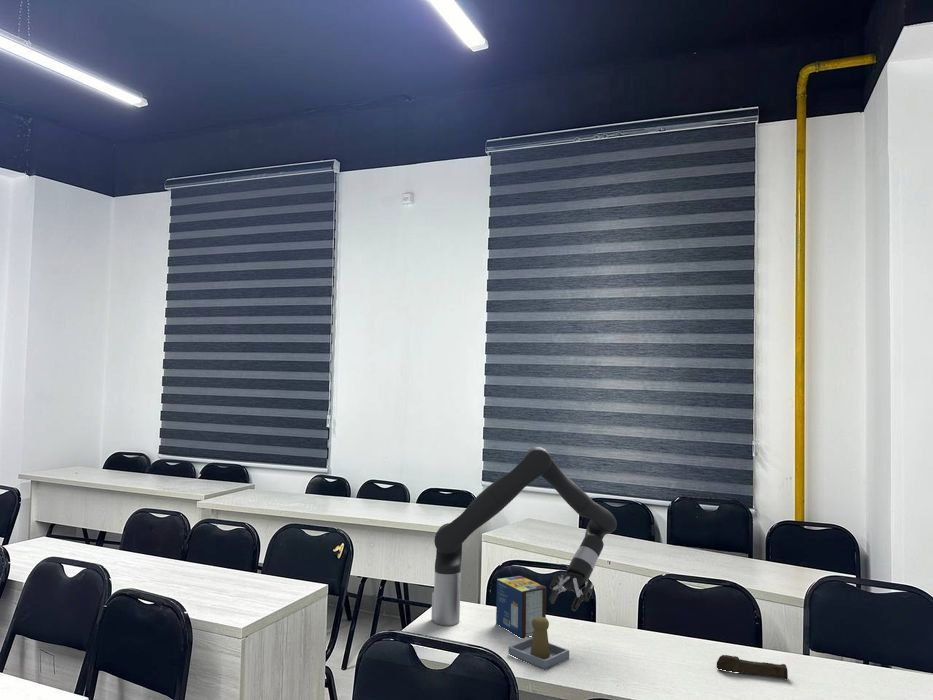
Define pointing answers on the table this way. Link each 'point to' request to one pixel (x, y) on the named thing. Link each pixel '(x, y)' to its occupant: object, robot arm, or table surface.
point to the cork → (540, 638)
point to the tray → (523, 654)
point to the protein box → (519, 604)
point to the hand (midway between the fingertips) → (561, 606)
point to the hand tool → (751, 667)
